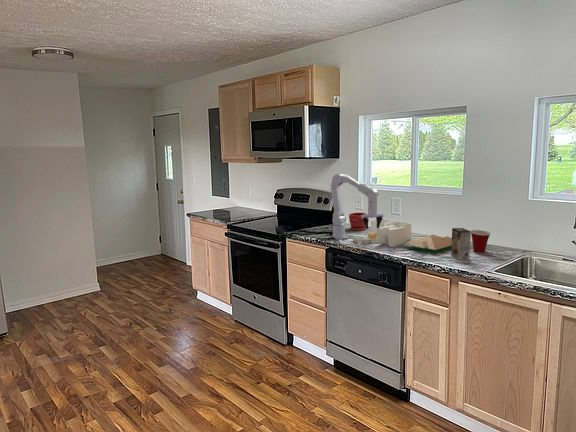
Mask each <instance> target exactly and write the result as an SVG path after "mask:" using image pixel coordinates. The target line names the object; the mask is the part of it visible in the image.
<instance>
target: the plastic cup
mask: <svg viewBox="0 0 576 432" xmlns="http://www.w3.org/2000/svg"><path fill="white" fill-rule="evenodd" d="M470 231H471V240H472V241H471V242H472V247H473V252H474V253H476V252H478V253H477V254H482V253H486V249H487V245H488V241H489V238H490V235H491V232H489V231H486V230H480V229H472V230H470Z"/></svg>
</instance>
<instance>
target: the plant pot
mask: <svg viewBox="0 0 576 432" xmlns="http://www.w3.org/2000/svg"><path fill="white" fill-rule="evenodd" d="M366 214H367V213H366V212H352V213H349V214H348V221H349V224H350V229H351V230H352V231H365V229H366V227H365V223H364V221H363V219H362V215H366ZM366 230H367V229H366Z"/></svg>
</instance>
